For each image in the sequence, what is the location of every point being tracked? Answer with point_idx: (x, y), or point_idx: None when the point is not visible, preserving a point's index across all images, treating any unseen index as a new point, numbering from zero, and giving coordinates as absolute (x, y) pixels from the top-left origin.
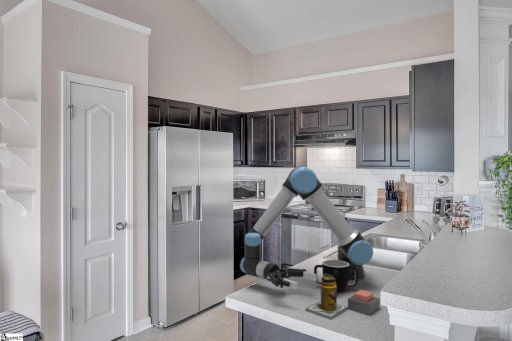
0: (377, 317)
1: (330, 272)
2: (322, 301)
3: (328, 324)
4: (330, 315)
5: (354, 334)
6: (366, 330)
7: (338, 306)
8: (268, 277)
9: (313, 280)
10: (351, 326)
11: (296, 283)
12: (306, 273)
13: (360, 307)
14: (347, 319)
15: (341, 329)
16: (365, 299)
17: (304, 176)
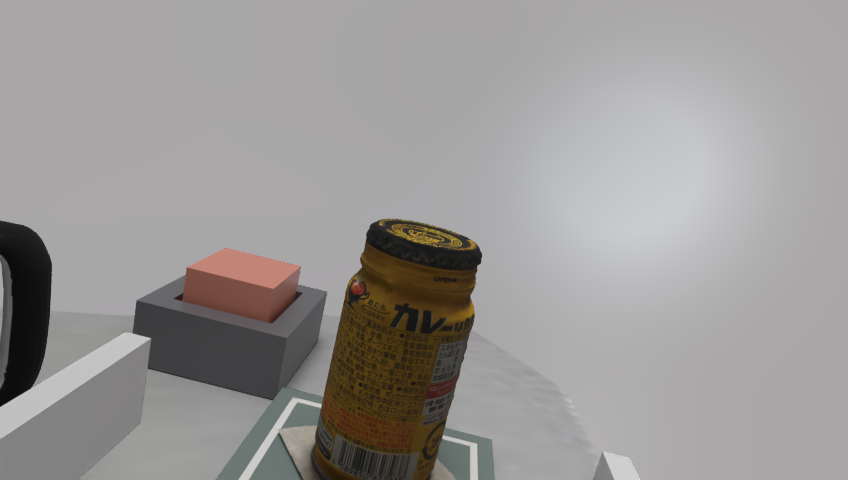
0: (322, 326)
1: None
2: (440, 432)
3: (552, 456)
4: (474, 444)
5: (538, 381)
6: (471, 356)
7: (303, 423)
8: None
9: (117, 443)
10: (482, 388)
11: (628, 464)
12: (10, 448)
13: (308, 335)
14: None
15: (544, 413)
16: (294, 284)
17: None
